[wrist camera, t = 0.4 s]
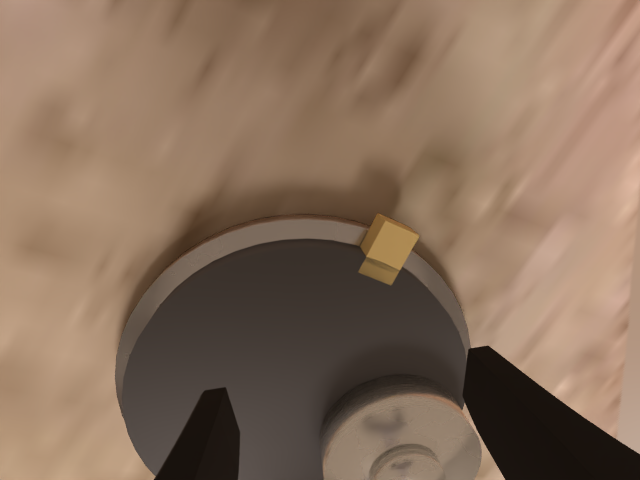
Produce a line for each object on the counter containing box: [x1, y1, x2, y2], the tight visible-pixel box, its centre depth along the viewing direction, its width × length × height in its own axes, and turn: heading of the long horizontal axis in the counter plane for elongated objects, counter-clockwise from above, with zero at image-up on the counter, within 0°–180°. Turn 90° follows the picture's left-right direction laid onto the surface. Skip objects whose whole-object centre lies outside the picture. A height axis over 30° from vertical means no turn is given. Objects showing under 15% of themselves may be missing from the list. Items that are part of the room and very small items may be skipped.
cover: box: [320, 374, 482, 480], centre depth 20 cm, size 9×9×4 cm
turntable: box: [122, 213, 467, 480], centre depth 21 cm, size 22×20×2 cm
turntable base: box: [115, 214, 471, 418], centre depth 22 cm, size 22×22×1 cm
